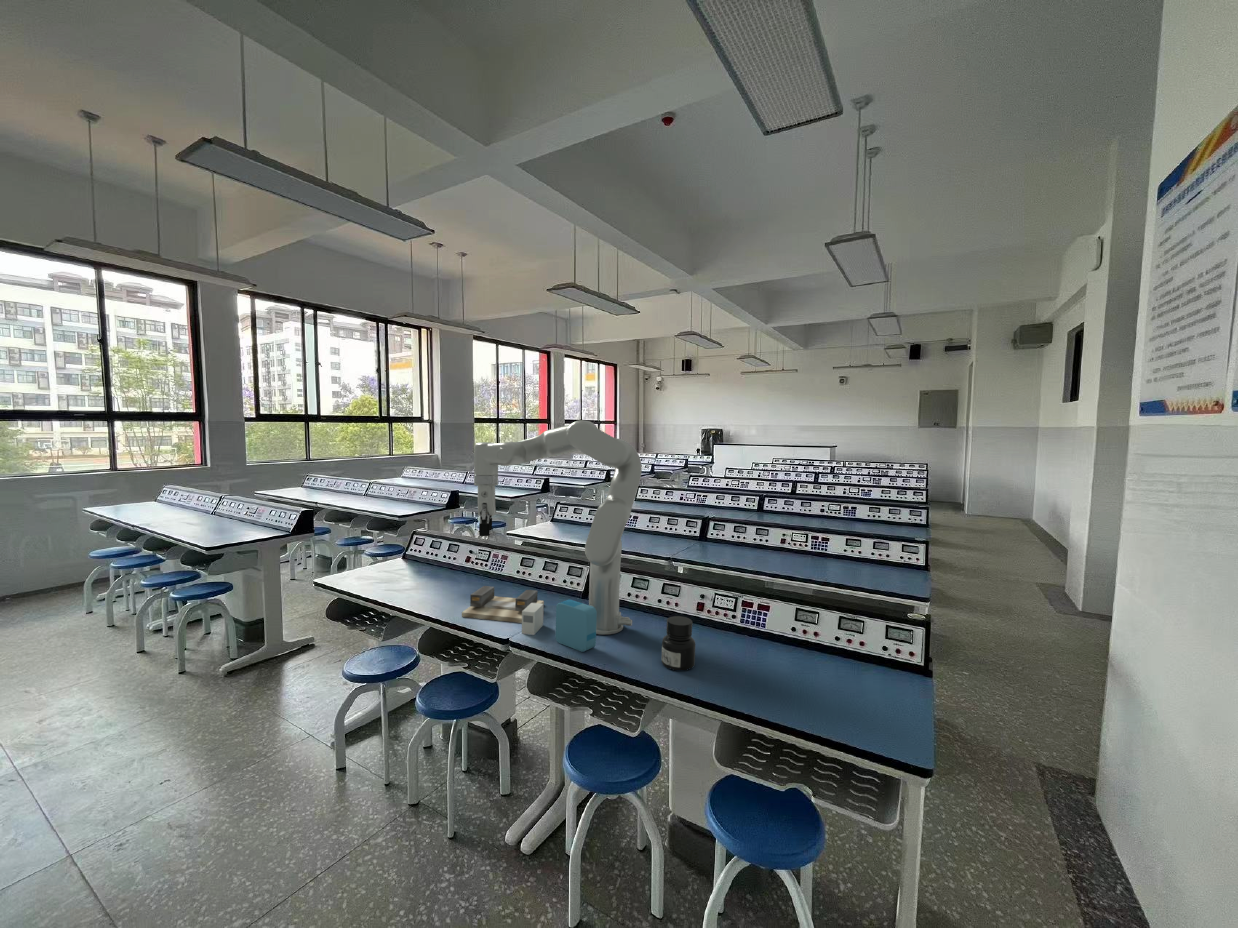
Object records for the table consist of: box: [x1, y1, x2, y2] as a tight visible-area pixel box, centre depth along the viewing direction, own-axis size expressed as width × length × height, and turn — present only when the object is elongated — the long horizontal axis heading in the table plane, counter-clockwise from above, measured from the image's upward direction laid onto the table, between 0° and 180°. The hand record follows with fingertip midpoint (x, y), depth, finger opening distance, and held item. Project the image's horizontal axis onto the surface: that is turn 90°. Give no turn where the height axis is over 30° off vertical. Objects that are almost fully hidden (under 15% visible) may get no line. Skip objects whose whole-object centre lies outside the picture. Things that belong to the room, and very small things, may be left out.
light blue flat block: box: [555, 598, 597, 653], centre depth 146 cm, size 12×4×12 cm, turn 52°
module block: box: [521, 603, 544, 636], centre depth 157 cm, size 4×8×7 cm, turn 169°
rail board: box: [461, 585, 545, 624], centre depth 172 cm, size 22×18×6 cm
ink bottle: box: [661, 615, 696, 671], centre depth 135 cm, size 10×9×12 cm
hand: (485, 532), depth 164 cm, fingers open, 9 cm apart
